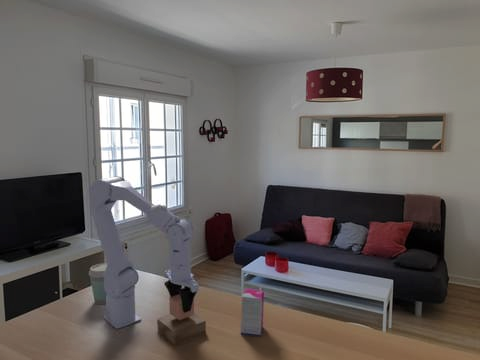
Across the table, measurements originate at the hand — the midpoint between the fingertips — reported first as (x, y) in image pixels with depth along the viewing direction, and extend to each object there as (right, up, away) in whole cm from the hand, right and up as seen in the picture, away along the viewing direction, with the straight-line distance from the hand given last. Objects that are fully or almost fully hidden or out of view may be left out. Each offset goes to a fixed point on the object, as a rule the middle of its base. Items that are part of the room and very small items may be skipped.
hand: (181, 307), depth 110 cm
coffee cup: (-30, -5, +20) cm, 36 cm away
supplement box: (+21, -7, +1) cm, 22 cm away
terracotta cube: (0, -2, 0) cm, 2 cm away
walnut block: (0, -7, 0) cm, 7 cm away
